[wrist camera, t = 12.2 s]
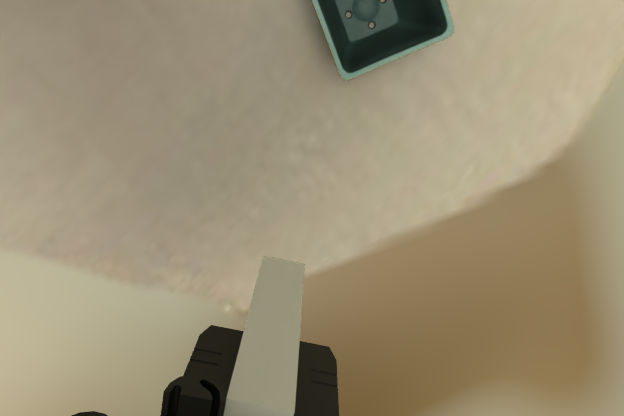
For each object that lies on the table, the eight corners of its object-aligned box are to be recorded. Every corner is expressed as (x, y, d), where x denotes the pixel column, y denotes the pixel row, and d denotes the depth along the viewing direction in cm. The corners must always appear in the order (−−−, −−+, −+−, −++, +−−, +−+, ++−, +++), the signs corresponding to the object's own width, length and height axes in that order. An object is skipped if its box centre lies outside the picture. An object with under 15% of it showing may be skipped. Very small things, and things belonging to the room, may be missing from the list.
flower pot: (397, -70, 37) (419, -100, 29) (428, 34, 40) (457, 34, 32) (301, -24, 38) (295, -41, 30) (338, 73, 41) (342, 83, 33)
